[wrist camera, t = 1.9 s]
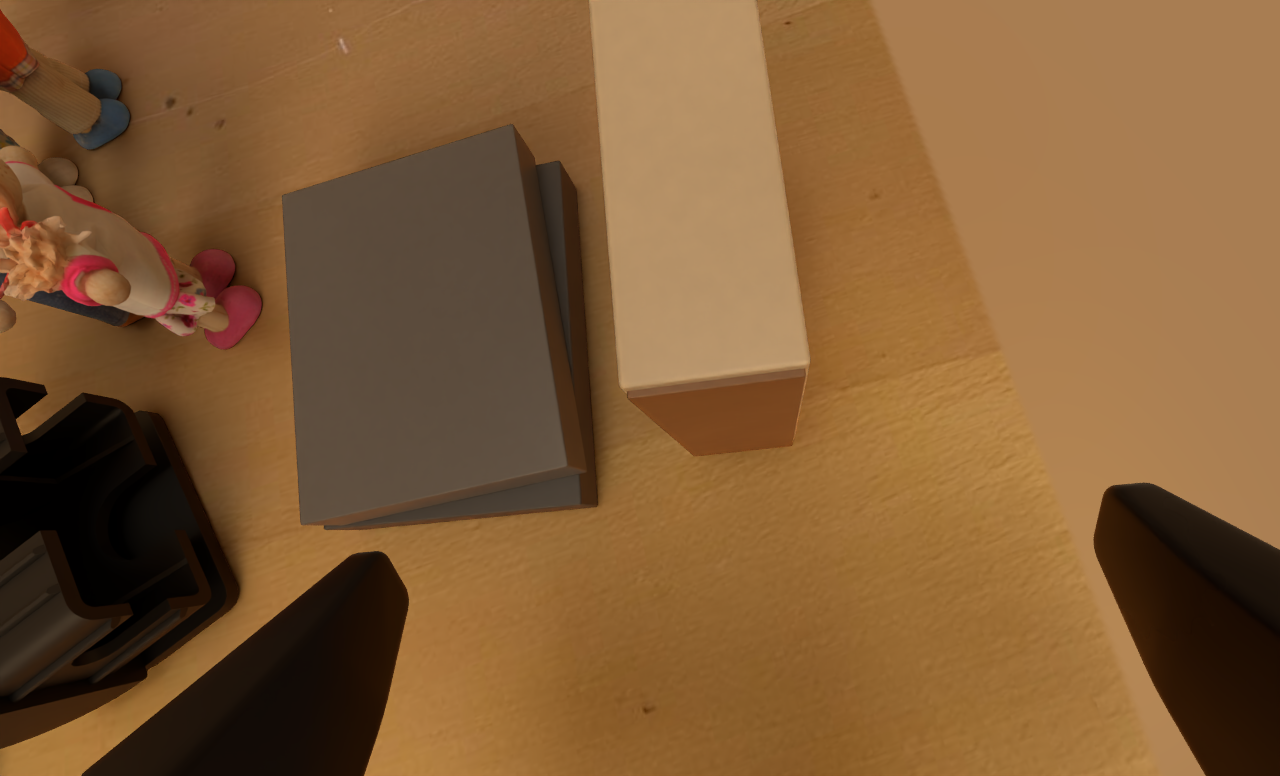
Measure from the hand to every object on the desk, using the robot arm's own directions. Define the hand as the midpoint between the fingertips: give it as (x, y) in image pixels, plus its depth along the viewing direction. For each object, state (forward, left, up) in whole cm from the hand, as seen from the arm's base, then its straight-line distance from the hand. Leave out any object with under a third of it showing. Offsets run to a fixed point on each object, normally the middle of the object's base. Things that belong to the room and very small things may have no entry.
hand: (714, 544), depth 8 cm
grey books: (+11, +5, -13) cm, 18 cm away
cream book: (+6, -3, -13) cm, 15 cm away
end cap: (+12, +21, -13) cm, 27 cm away
